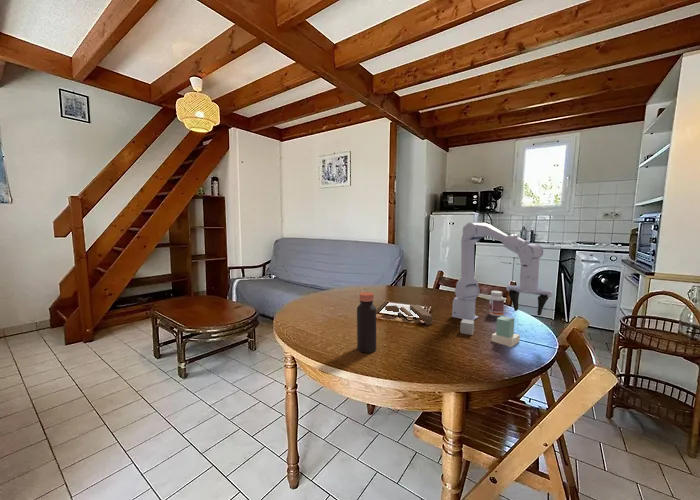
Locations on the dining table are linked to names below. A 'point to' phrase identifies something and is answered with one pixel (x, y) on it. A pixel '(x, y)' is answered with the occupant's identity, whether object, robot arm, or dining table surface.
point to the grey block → (467, 326)
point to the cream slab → (506, 339)
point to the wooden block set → (415, 308)
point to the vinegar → (366, 323)
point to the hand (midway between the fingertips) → (527, 312)
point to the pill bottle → (496, 303)
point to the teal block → (505, 326)
